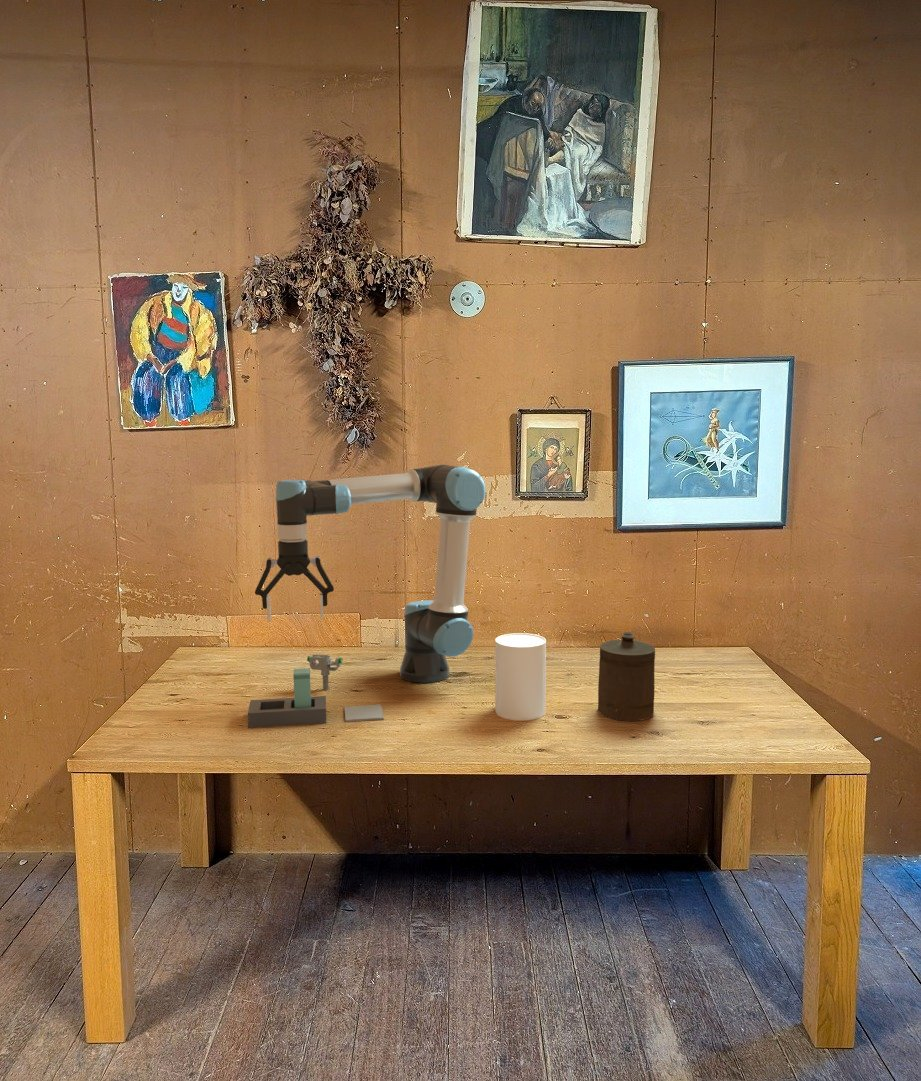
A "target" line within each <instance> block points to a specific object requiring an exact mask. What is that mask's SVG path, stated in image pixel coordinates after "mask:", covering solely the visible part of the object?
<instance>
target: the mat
mask: <svg viewBox="0 0 921 1081" xmlns="http://www.w3.org/2000/svg"><path fill="white" fill-rule="evenodd" d="M344 719H345V720H344V721H345V723H351V722H352V723H353V722H366V721H368V722H369V721H384V719H385V718H384V713H383V708H382V704H369V705H352V706H351V705H350V706H349V705H348V706H344Z"/></svg>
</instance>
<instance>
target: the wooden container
mask: <svg viewBox="0 0 921 1081" xmlns="http://www.w3.org/2000/svg"><path fill="white" fill-rule="evenodd" d="M620 637H621V639H612V640H606V641H604V642H602V643H601V644H600V646H599V662H598V663H599V665H598V666H599V667H598V668H599V669H598V685H597V686H598V687H597V698H598V699H597V703H598V705H597V709H598V710H597V711H598V713H600V714H601V716H604V717H605V718H608V719H612V720H615V721H622V722H637V721H644V720H648V719H650V718H651V717H653V715H654V712H655V691H656V690H655V688H656V686H655V669H656V668H655V667H656V666H655V664H656V663H655V659H656V648H655V646H654V645H652V644H650V643H648V642H645V641H641V640H635V638H636V637H635V635H634V633H632V632H630V631H626V632H624V633H622V634H621V636H620Z"/></svg>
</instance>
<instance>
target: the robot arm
mask: <svg viewBox="0 0 921 1081" xmlns="http://www.w3.org/2000/svg"><path fill="white" fill-rule="evenodd" d="M275 486H276V488H275V503H276V519H277V522H276V523H277V524H276V528H277V530H276V531H277V539H278V540H279V541H278V542H277V548H278V550H277V551H278V558H277V559H274V558H273V559H272V558H271V557H268V558H267V559H266V561H265V562H266V563H265V569H264V571H263V573H262V575H261V577H260V580H259V582H258V583H257V586H256V588H255V590H254V594H255V595H256V596H260V597H261V602H262V608H263V610H266V612H267V614H266V616H267V622H268V623H270V622H271V621H272V612H271V611H272V608H271V607H272V606H271V595H270V594H269V593H270V592H271V591H272V590H273V589H274V588H275V587H276V585H277V584H278V582H279V581H280V579H282V578H283V577H284V575H286V576H288V577H289V576H290V577H291V576H301V575H302V574H303V575H304V576H305V577H307V579H308V580H309V581H310V582H311V583H312V584H313V585H314V586H315V587H316V589H317V590H318V591H320V592H319V614H320V615H319V617H320V619H319V620H324V607H327V606H328V594H329V593H332V592H334V591H335V587H334V585H333V583H332V582H331V580H330V578H329V576H328V575H327V572H326V571H325V568H324V567H323V565H322V562H321V558H320V556H318V555H317V556H315V557H312V558H311V557H309V550H308V548H309V547H308V546H309V545H308V542H309V541H308V540H307V538H308V520H307V517H308V516H310V517H311V516H317V515H318V516H319V515H320V516H321V515H334V514H335V515H338V514H344V513H347V512H349V510H350V509H351V506H352V505H359V504H360V505H361V504H362V505H363V504H369V503H380V502H381V503H382V502H391V501H401V500H409V501H410V502H413V503H415V502H416V503H417V502H427V503H434V504H435V514H436V515H437V516H438V518H439V519H440V520H439V531H438V533H439V534H438V535H439V536H438V546H437V556H436V557H437V558H436V559H437V560H436V571H435V572H436V573H435V584H434V599H433V600H432V599H431V600H430V599H429V600H418V601H412V602H409V603H406V605H405V607H404V615H403V616H404V648H405V649H404V650H405V651H404V655H403V658H402V660H401V664H400V668H399V677H400V678H401V679H402V680H405V681H407V682H410V683H411V682H412V683H423V684H424V683H425V684H426V683H435V682H440V681H443V680H445V679H447V678H449V677H450V666H449V663H448V660H447V657H450V658H451V657H453V658H454V657H457V656H460V655H462V654H464V652H466V651H467V650H468V649H469V647H471V644H472V642H473V640H474V628H473V625H472V624H471V623H470V621H468V618H469V617H468V616H469V608H468V607H467V606H466V605H465V604H464V603H465V602H464V601H465V591H466V590H465V589H466V580H467V579H466V577H467V566H468V556H469V555H468V554H469V541H470V529H471V521H472V520H473V519H475V518H476V517H477V510H478V508H479V507H480V506H481V504H482V503H483V502H484V500H485V497H486V485H485V482H484V479H483V478H482V476H481V475H480V474H479V473H478V472H477V471H475V470H473V469H470V468H468V467H464V466H456V465H449V464H438V465H431V466H427V467H426V466H424V467H420V468H411V469H408V470H407V472H404V473H403V472H402V473H392V474H384V475H383V474H381V475H380V474H379V475H368V476H359V477H358V476H357V477H347V478H335V479H334V478H333V479H325V480H323V479H322V480H314V481H313V480H309V479H307V480H303V479H295V478H294V479H292V478H291V479H282V480H279V481H277V483H276V485H275ZM310 563H311V564H312V565H313V566H314V567H315V568H316V569H317V571H318V573H319V575H320V577H321V578H322V579H323V581H324V584H325V585H326V587H325V586H324V585H323V583H321V581H319V580H318V578H317V577H316V576H315V575H314V574H313V573H312V572H311V570H310V569H309V568H308V567H309V565H310ZM275 565H277V566H278V567H279V571H278V572H277V574H275V576H274V577H273V578H272V579H271V580H270V582H269V583H268V585H267V586H266V587H264V589H263V586H264V584H265V582H266V580H267V578H268V577H269V576H268V575H269V574H270V571H271V569H272V568H274V567H275Z"/></svg>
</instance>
